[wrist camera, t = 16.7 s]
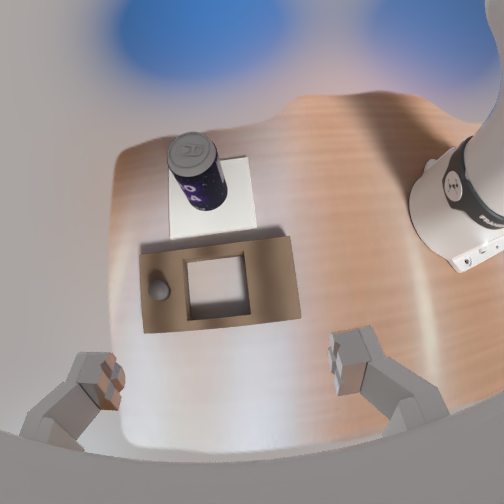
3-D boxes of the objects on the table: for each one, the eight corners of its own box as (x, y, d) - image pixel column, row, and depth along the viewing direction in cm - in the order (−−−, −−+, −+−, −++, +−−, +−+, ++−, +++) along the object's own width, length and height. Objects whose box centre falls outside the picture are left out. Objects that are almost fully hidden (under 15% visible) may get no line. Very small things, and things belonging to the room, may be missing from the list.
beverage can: (193, 176, 44) (170, 128, 33) (231, 178, 44) (218, 129, 32) (185, 212, 43) (158, 171, 31) (225, 215, 43) (210, 173, 31)
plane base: (288, 241, 42) (290, 230, 38) (299, 318, 39) (303, 317, 35) (146, 259, 42) (133, 251, 38) (150, 333, 40) (137, 333, 36)
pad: (248, 159, 45) (247, 157, 45) (257, 228, 43) (256, 226, 42) (170, 171, 46) (168, 169, 45) (171, 239, 43) (170, 238, 42)
